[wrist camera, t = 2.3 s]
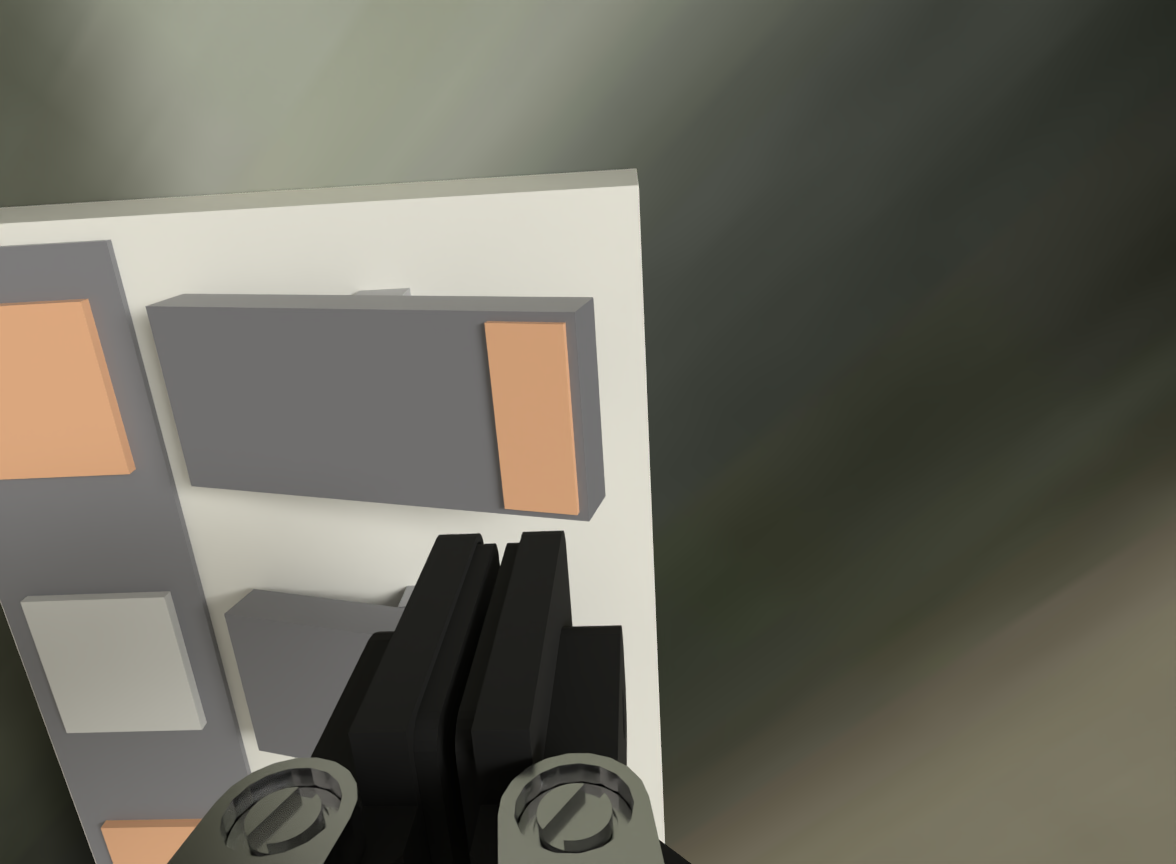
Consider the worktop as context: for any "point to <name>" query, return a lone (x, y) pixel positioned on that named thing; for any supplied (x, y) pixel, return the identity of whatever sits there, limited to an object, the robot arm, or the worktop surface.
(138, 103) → the worktop surface
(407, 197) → the switch unit
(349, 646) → the rocker
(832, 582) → the worktop surface
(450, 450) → the block
